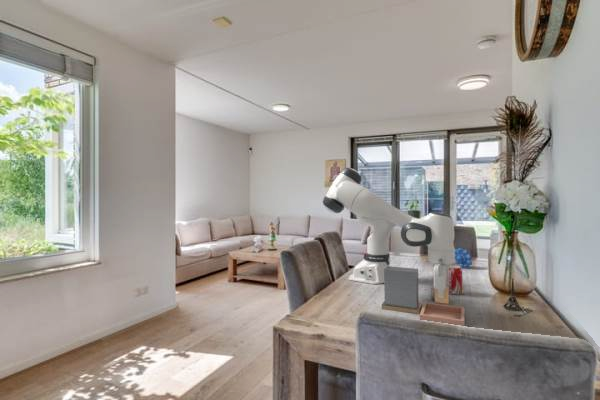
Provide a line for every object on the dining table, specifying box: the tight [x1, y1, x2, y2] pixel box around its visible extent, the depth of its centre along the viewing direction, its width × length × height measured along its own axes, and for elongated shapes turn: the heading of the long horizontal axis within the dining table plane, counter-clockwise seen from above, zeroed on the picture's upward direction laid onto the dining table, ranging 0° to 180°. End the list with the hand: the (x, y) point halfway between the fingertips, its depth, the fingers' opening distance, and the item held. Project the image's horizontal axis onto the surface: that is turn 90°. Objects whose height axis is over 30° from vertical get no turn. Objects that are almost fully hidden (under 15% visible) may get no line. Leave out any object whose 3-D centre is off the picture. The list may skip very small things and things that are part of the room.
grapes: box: [455, 247, 473, 269], centre depth 186 cm, size 12×7×12 cm, turn 29°
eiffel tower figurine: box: [502, 275, 534, 318], centre depth 120 cm, size 15×10×13 cm
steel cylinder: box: [430, 286, 440, 304], centre depth 131 cm, size 5×5×5 cm
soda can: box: [447, 264, 464, 295], centre depth 141 cm, size 7×7×12 cm
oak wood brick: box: [434, 283, 450, 305], centre depth 113 cm, size 4×4×7 cm
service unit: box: [381, 265, 423, 315], centre depth 124 cm, size 14×10×16 cm
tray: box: [419, 301, 466, 326], centre depth 113 cm, size 14×14×2 cm
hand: (441, 295), depth 113 cm, fingers closed on oak wood brick, 4 cm apart
